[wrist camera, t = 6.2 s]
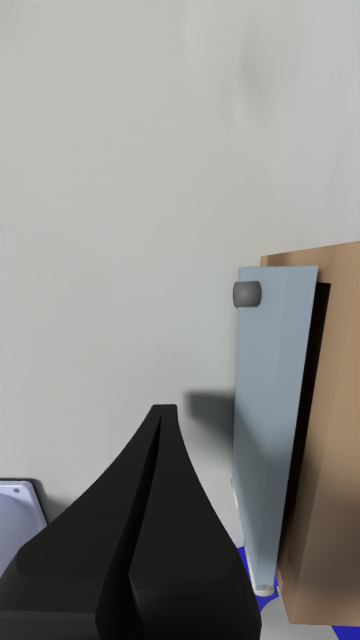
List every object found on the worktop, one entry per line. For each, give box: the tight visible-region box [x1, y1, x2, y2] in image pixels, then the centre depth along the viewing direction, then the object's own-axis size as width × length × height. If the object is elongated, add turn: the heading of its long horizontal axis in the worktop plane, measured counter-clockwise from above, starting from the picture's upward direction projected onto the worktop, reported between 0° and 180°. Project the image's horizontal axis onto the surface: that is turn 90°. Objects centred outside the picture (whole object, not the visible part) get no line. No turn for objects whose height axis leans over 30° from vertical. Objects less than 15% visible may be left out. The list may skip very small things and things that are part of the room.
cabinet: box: [261, 241, 360, 627], centre depth 9 cm, size 5×16×6 cm, turn 3°
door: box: [231, 265, 318, 597], centre depth 9 cm, size 2×16×5 cm, turn 3°
